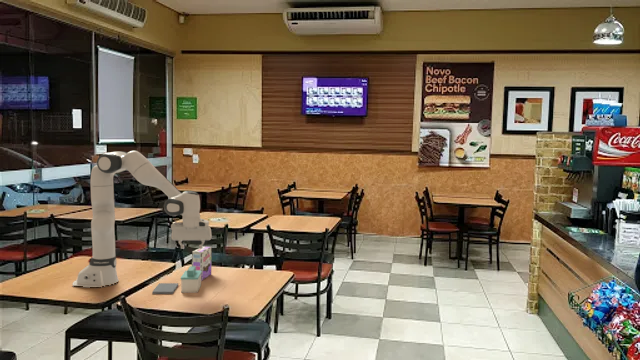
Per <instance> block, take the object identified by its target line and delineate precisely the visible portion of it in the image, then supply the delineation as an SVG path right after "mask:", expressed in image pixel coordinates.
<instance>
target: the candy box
mask: <svg viewBox="0 0 640 360" xmlns="http://www.w3.org/2000/svg"><path fill="white" fill-rule="evenodd" d="M191 266H196V271H202V273H201V282H202V281H204V280H205V279H206V278H208V277H210V276H211V275H212V246H203V248H202V249H199V248H197V249H195V250H192V251H191Z"/></svg>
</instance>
